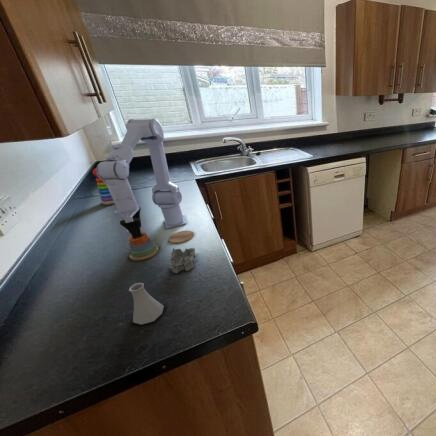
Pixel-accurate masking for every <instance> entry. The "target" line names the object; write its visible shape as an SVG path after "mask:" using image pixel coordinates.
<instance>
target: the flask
mask: <svg viewBox="0 0 436 436" xmlns="http://www.w3.org/2000/svg"><path fill="white" fill-rule="evenodd" d="M144 286H145V283H143V282H137V283H133V284H132V285H130V286H129V289H128V292H129V293H131V295H132V299H133V313H132V323H134V324H137V325H140V326H142V325H144V324H149V323H152V322H155V321H156V320H157V319H158V318H159V317H160V316H161V315H162V314H163V311H164V307H165V306H164V304H162V303H160V302H159V301H158V300H157V299H155V298H154V297H152V296H151V295H150V294H149V292H148V291H147V290H146V289H145V287H144Z"/></svg>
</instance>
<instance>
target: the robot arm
mask: <svg viewBox="0 0 436 436" xmlns="http://www.w3.org/2000/svg"><path fill="white" fill-rule="evenodd" d="M125 129H126V132H125V134H124V136H123V139H122V141H121V143H117V144H114V145H113V146H112V149H111V151H110V152H109V154H108V156H107V157H106V158H105V160H104V161H100V162H99V163H98V164H97V165H96V167H95V168H96V171H97V173H96V174H97V176H98V177H99V178H100V179H101V180H102V181H103V182H104V184H105V185H106V186H107V187H108V189H109V191H110V194H111V196H112V198H113V200H114V205H115V208H116V210H113V211H114V212H113V213H114V215H119V216H121V217H122V218H123V219H122V220H119V225H120V226H122V227H123V228H124V229H126V230H127V231H128V232H129V234H130V236H133V237H134V238H137V237H141V233H142V231H141V228H142V221H141V206H139V204H138V203H137V199H136V197H135V194H134V193H133V189H132V187H131V184H130V182H129V180H128V179H129V178H128V177H129V175H130V163H131V162H132V161H133V158H134V156H135V152H134V149H135V147H136V146H137V145H138V143H139V142H140V141H141V142H144V143H145V144H146V145H147V146H148V150H149V151H148V152H149V155H150V160H151V165H152V169H153V173H154V178H155V184H154V186H153V187H152V188H151V199H152V202H153V204H154V205H155V206H157V207H158V208H160V210H161V214H162V216H163V219H164V225H165V229H171V228H174V227H180V226H183V225H186V224H187V221H186V218H185V215H184V214H183V212H182V208H181V206H180V204H181V203H182V200H183V196H182V193H181V191H180V187H179V185H176V183H175V184H174V183H173V182H171V177H170V172H169V167H168V162H167V157H166V152H165V147H164V143H163V142H164V141H165V135H164V130H163V126H162V124H161V123H160V122H159V120H158V119H157V118H143V119H138V118H137V119H133V118H129V119H128V120H127V122H126V123H125Z"/></svg>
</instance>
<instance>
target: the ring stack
mask: <svg viewBox="0 0 436 436" xmlns="http://www.w3.org/2000/svg"><path fill="white" fill-rule="evenodd" d="M138 238H141V237H137V238H136V239H138ZM128 246H129V248H128V252H129V254H128V255H129V259H130V260H131V261H134V262H138V261H144V260H147V259H150V258H153V257H154V256H155V255H156V254H158V253H159V250H160V248H159V246H158V245H157V244H156V243H155V241H152V240H151V237H149V236H148V241H147V242H146V243H144V244H141V245H136V246H133V245H131V244H130V242H129V243H128Z"/></svg>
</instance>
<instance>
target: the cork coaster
mask: <svg viewBox="0 0 436 436" xmlns="http://www.w3.org/2000/svg"><path fill="white" fill-rule="evenodd" d="M194 235H195V234H194V232H193V231H192V230H182V231H178V232H176V233H173V234H171V235H170V237H169V238H168V241H169V242H170V243H171V244H181V243H185V242H187V241H189V240H191V239H192V238H193V237H194Z"/></svg>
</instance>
